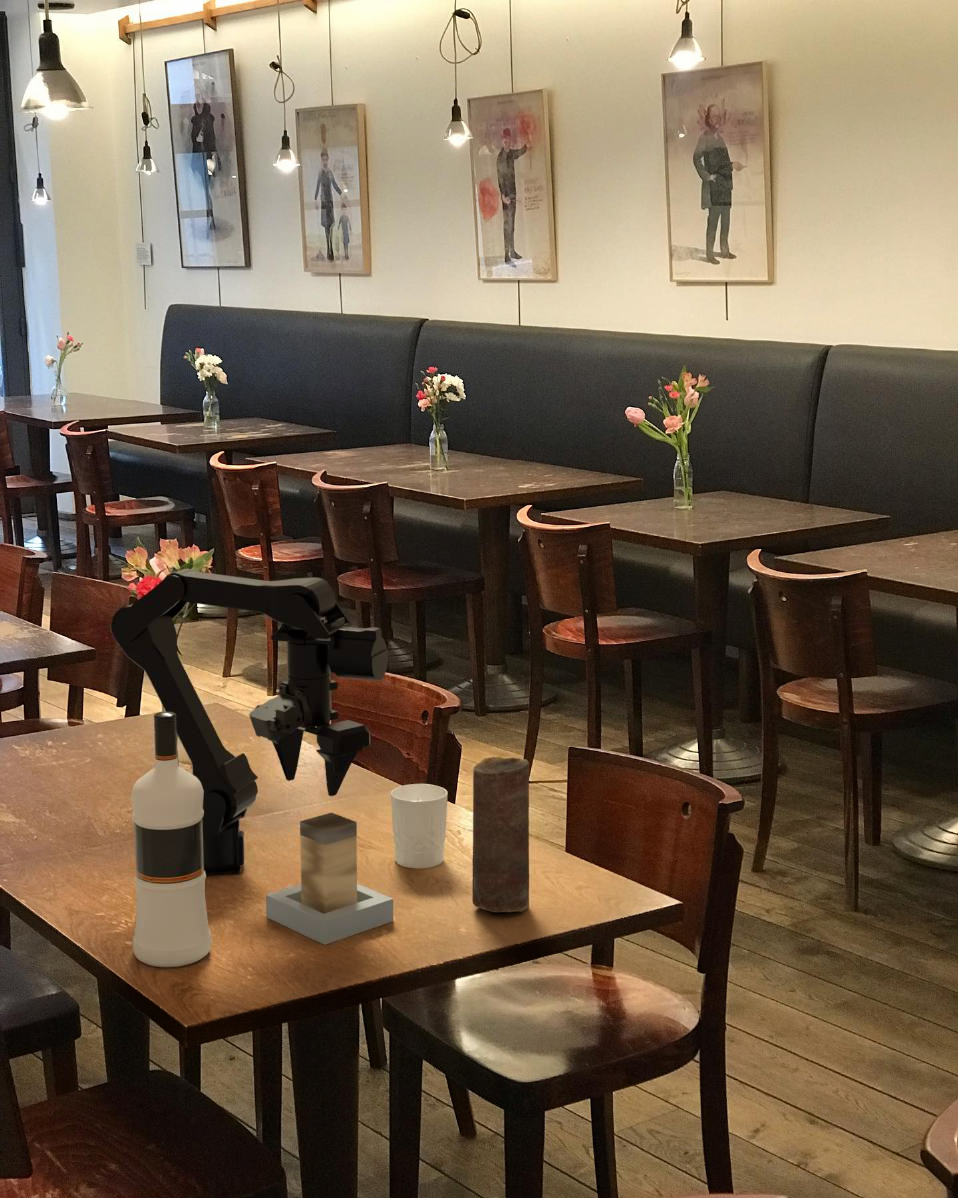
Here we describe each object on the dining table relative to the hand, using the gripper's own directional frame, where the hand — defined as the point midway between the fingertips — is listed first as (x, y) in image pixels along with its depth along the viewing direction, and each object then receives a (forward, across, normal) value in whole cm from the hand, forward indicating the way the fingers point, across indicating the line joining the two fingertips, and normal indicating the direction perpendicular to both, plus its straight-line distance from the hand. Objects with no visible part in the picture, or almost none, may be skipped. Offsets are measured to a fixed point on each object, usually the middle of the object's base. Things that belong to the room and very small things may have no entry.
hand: (311, 787), depth 214 cm
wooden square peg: (+13, +12, -7) cm, 19 cm away
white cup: (+13, +4, +16) cm, 21 cm away
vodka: (+13, +8, -27) cm, 31 cm away
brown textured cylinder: (+13, +25, +11) cm, 30 cm away
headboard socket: (+13, +12, -7) cm, 19 cm away
